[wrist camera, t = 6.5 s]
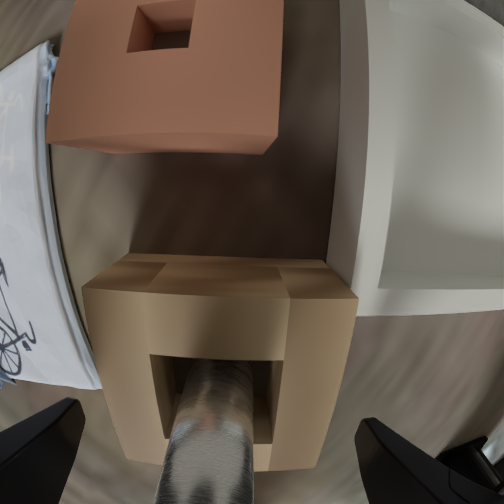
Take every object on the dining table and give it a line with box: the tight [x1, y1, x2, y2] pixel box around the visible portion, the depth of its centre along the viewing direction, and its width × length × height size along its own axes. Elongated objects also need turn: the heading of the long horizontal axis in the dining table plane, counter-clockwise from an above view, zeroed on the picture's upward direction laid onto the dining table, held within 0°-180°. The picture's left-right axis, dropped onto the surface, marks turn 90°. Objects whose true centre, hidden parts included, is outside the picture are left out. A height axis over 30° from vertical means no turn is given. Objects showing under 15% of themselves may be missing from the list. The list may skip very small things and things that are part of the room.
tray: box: [326, 0, 504, 316], centre depth 10 cm, size 14×14×3 cm
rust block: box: [45, 0, 284, 155], centre depth 8 cm, size 6×6×5 cm
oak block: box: [81, 253, 359, 471], centre depth 11 cm, size 8×8×4 cm
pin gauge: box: [153, 358, 254, 504], centre depth 8 cm, size 2×2×8 cm
